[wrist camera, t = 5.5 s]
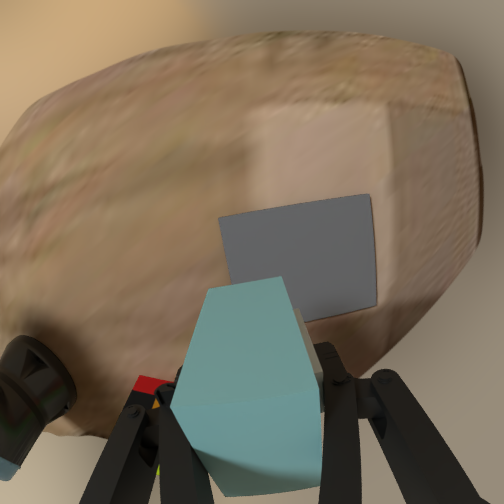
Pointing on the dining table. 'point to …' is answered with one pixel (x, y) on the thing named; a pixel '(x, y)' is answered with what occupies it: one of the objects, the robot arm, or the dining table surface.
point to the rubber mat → (308, 253)
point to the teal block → (251, 393)
